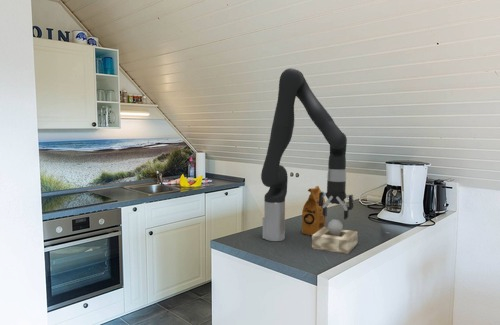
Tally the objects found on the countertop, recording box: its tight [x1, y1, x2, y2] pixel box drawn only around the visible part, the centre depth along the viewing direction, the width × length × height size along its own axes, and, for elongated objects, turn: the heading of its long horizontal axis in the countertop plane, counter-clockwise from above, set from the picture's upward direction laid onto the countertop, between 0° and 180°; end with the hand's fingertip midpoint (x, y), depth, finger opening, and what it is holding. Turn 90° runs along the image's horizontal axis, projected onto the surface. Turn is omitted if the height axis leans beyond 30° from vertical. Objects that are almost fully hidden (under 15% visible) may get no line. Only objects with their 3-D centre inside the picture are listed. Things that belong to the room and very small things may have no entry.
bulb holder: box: [311, 226, 359, 255], centre depth 155 cm, size 15×15×6 cm
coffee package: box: [301, 185, 326, 236], centre depth 175 cm, size 10×12×22 cm
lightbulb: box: [327, 218, 343, 236], centre depth 155 cm, size 6×6×11 cm
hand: (335, 217), depth 154 cm, fingers open, 8 cm apart
